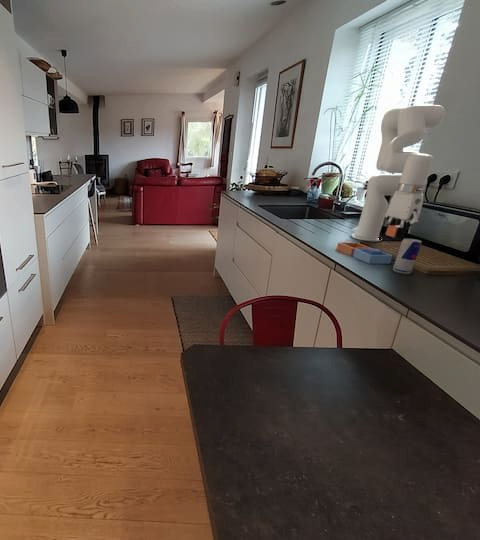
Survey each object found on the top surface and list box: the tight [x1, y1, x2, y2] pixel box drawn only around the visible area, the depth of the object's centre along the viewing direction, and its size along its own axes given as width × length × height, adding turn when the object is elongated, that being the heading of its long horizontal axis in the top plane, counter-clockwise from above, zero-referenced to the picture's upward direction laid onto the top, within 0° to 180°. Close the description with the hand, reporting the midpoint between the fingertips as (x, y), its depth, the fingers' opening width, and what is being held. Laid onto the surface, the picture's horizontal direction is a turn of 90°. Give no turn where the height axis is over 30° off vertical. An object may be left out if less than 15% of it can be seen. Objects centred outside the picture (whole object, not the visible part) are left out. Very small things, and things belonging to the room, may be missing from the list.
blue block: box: [365, 247, 384, 255], centre depth 131 cm, size 4×4×4 cm
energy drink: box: [392, 237, 423, 275], centre depth 117 cm, size 5×5×12 cm
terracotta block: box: [385, 224, 400, 238], centre depth 129 cm, size 4×4×4 cm
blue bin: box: [352, 249, 394, 265], centre depth 131 cm, size 9×9×3 cm
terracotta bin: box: [336, 241, 372, 257], centre depth 141 cm, size 9×9×3 cm
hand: (394, 235), depth 129 cm, fingers closed on terracotta block, 4 cm apart
